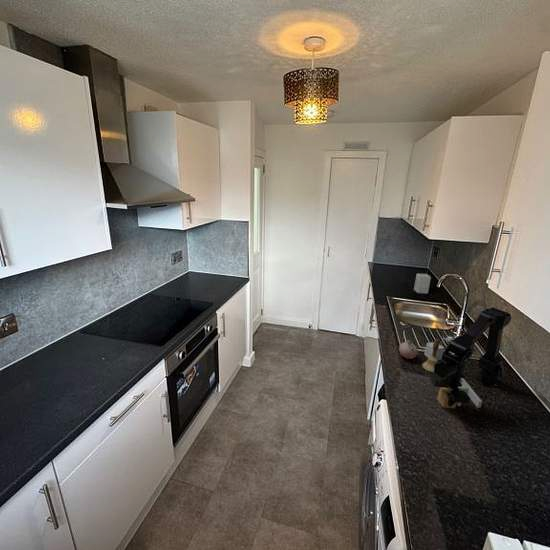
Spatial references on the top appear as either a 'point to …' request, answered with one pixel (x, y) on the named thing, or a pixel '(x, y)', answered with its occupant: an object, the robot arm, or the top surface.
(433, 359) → the hand bell
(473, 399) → the two-pronged gray clamp
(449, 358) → the robot arm
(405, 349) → the decorative fruit
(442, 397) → the cardboard shipping carton
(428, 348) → the product box
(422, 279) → the supplement box
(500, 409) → the top surface
